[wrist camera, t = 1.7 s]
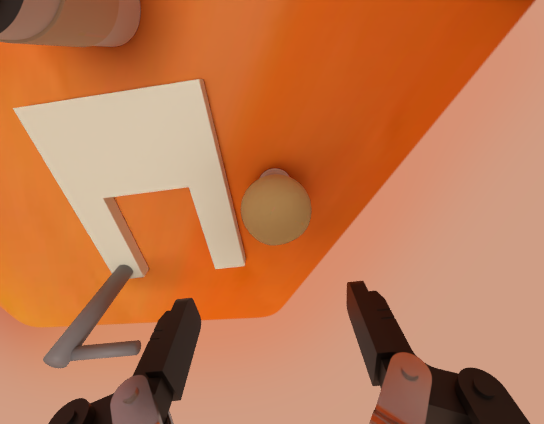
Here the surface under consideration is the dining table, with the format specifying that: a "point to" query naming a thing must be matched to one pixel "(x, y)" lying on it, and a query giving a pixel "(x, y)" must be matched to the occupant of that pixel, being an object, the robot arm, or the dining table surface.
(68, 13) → the coffee cup
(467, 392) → the robot arm
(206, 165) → the cream u-shaped stand
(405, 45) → the dining table surface
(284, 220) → the light bulb
